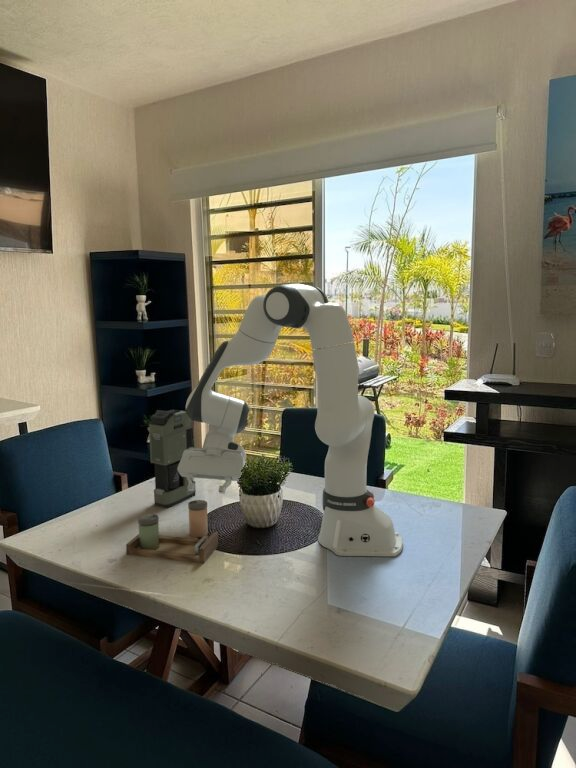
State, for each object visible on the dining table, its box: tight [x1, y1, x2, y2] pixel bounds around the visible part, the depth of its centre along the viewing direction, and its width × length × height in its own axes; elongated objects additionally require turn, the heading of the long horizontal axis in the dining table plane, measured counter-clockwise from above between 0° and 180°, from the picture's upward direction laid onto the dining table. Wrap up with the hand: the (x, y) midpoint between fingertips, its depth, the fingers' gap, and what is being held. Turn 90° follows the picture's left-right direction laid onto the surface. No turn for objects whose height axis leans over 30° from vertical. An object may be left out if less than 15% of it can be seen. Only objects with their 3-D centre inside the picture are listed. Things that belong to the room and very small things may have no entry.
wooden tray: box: [125, 531, 219, 564], centre depth 141 cm, size 21×10×4 cm, turn 77°
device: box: [148, 409, 196, 509], centre depth 175 cm, size 14×8×30 cm, turn 150°
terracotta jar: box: [187, 499, 209, 538], centre depth 150 cm, size 5×5×9 cm
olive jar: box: [137, 514, 160, 550], centre depth 142 cm, size 5×5×8 cm
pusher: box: [194, 535, 209, 555], centre depth 139 cm, size 2×6×3 cm, turn 167°
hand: (205, 491), depth 155 cm, fingers open, 8 cm apart
